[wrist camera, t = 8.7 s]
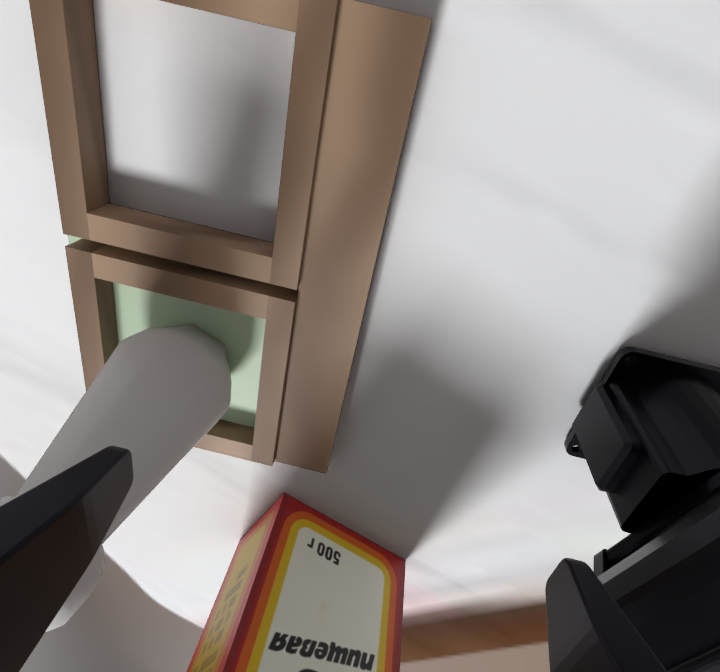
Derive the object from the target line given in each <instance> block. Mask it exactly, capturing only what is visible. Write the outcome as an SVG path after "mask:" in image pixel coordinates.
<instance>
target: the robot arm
mask: <svg viewBox="0 0 720 672" xmlns="http://www.w3.org/2000/svg"><path fill="white" fill-rule="evenodd" d="M628 357H634V358H633V359H632V360H630V361H625V360H626V359H627V358H628ZM564 445H565V448H566V451H567V453H568V454H570V455H572V456H576V457H580V458H584V459H586V461H587V463H588V466H589V468H590V471H591V474H592V476H593V479H594V481H595V484H596V486H597V487H598V489H599V490H601V491H605V492H606V493H607V495H608V498H609V500H610V503H611V505H612V508H613V510H614V512H615V515H616V517H617V520H618V522H619V525H620V527H621V529H622V530H623V531H625V532H628V533H631V534H629V535H628V536H627V537H625V538H624V539H622V540H621V541H619V542H618V543H617V544H615V545H614V546H612V547H611V548H609V549H608V550H606V549H603V550H602V551H600V552H599V553H597V554H596V555H595V556H594V572H593V571H592V569H591V568H590V567H589V566H588V565H587V564H586V563H584V562H582V561H578V560H574V559H570V558H565V559H563V560H562V561H561V562H560V563H559V565H558V566H557V567H556V569H555V570H554V571H553V573H552V574H551V576H550V577H549V579H548V581H547V584H546V608H547V626H548V644H549V661H550V672H720V368H717V367H713V366H708V365H704V364H700V363H696V362H692V361H688V360H684V359H679V358H675V357H671V356H667V355H663V354H659V353H655V352H650V351H646V350H642V349H638V348H634V347H627V348H623V349H622V350H620V351H619V352H618V353H617V355H616V356H615V358H614V360H613V361H612V363H611V365H610V366H609V368H608V370H607V371H606V373H605V375H604V376H603V378H602V380H601V381H600V383H599V384H598V385H597V386H595V387H594V388H593V390H592V392H591V394H590V395H589V397H588V399H587V400H586V402H585V404H584V405H583V407H582V409H581V410H580V412H579V414H578V415H577V417H576V419H575V421H574V422H573V428H572V430H571V432H570V434H569V435H568V437H567V439H566V440H565V443H564ZM575 445H578V446H577V447H573V446H575ZM133 478H134V474H133V463H132V454H131V452H130V450H128V449H125V448H121V447H117V446H108V447H105V448H104V449H102V450H100V451H98V452H96V453H95V454H93V455H91V456H89V457H87V458H86V459H84V460H82V461H80V462H78V463H77V464H75V465H73V466H71V467H70V468H68V469H66V470H64V471H62V472H61V473H59V474H57V475H55V476H53V477H52V478H50V479H48V480H46V481H44V482H43V483H41V484H39V485H37V486H35V487H34V488H32V489H30V490H28V491H26V492H25V493H23V494H21V495H19V496H17V497H16V498H14V499H12V500H10V501H9V502H7V503H5V504H3V505H1V506H0V672H19V671H20V669H21V668H22V666H23V665H24V663H25V662H26V660H27V659H28V657H29V656H30V654H31V653H32V651H33V650H34V648H35V647H36V645H37V644H38V642H39V641H40V639H41V638H42V636H43V634H44V633H45V631H46V630H47V628H48V627H49V625H50V624H51V622H52V621H53V619H54V618H55V616H56V615H57V613H58V612H59V610H60V609H61V607H62V606H63V604H64V603H65V601H66V600H67V598H68V597H69V595H70V594H71V592H72V591H73V589H74V588H75V586H76V585H77V583H78V581H79V580H80V578H81V577H82V575H83V574H84V572H85V571H86V569H87V568H88V566H89V565H90V563H91V561H92V560H93V558H94V556H95V554H96V553H97V551H98V549H99V547H100V545H101V543H102V542H103V540H104V538H105V536H106V534H107V532H108V530H109V528H110V526H111V524H112V522H113V521H114V519H115V517H116V515H117V513H118V511H119V509H120V507H121V505H122V503H123V501H124V500H125V498H126V496H127V494H128V492H129V490H130V488H131V486H132V483H133Z"/></svg>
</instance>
